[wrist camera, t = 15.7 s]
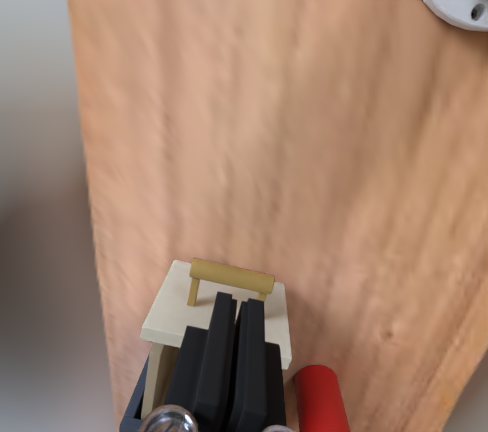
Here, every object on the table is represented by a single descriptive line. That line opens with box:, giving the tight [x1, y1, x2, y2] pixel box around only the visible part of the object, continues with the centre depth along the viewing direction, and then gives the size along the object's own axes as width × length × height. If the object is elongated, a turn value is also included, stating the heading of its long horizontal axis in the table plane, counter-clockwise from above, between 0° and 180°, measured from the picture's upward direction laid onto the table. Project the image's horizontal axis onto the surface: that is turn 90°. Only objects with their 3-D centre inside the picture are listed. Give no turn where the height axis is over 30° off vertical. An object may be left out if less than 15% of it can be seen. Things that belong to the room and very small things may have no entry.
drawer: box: [141, 258, 292, 420], centre depth 26 cm, size 18×10×8 cm, turn 167°
